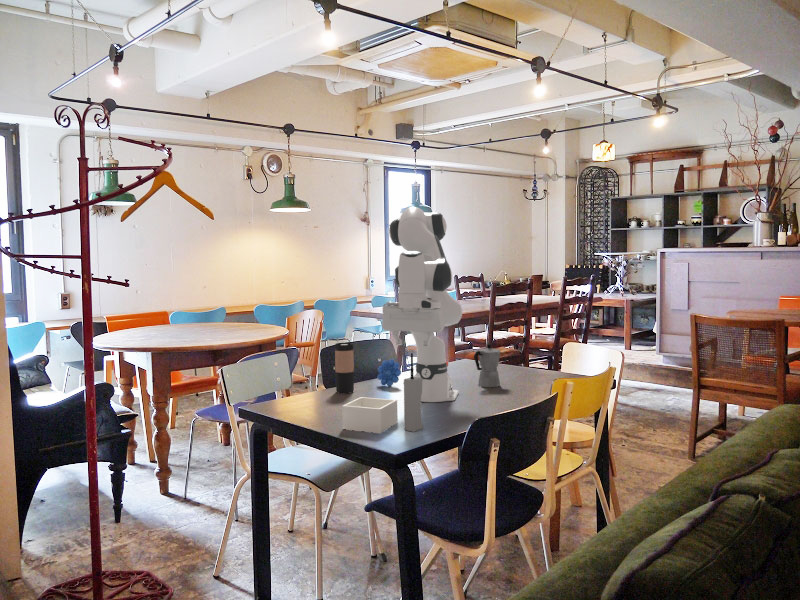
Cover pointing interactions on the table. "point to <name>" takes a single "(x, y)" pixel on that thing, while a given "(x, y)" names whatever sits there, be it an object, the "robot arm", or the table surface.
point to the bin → (369, 414)
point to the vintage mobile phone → (412, 402)
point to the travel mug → (344, 367)
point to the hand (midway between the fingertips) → (412, 345)
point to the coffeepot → (488, 366)
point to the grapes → (389, 372)
